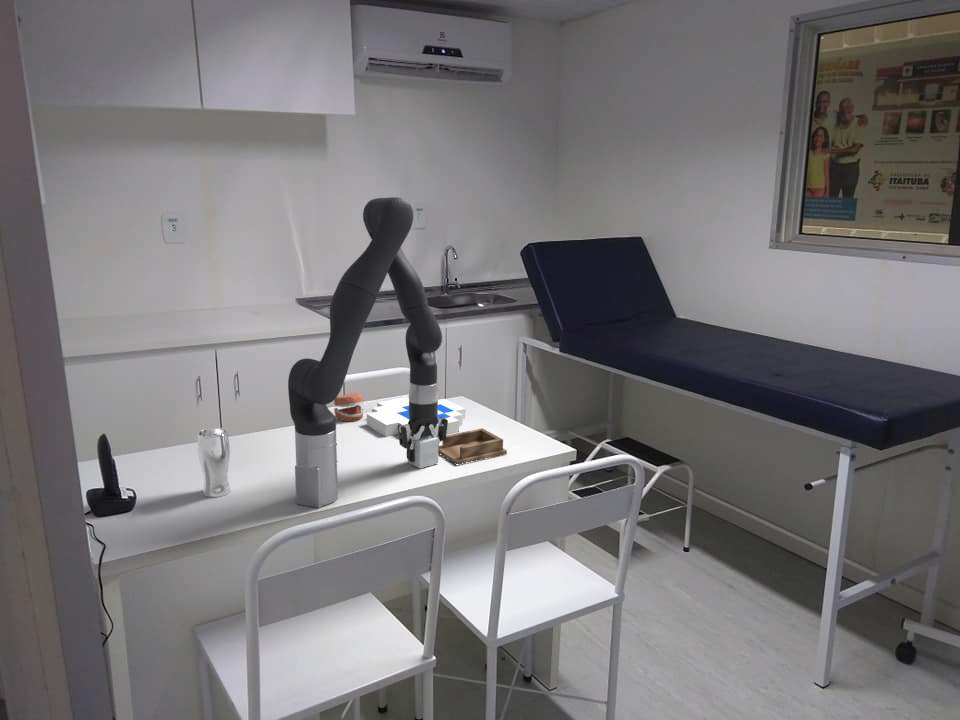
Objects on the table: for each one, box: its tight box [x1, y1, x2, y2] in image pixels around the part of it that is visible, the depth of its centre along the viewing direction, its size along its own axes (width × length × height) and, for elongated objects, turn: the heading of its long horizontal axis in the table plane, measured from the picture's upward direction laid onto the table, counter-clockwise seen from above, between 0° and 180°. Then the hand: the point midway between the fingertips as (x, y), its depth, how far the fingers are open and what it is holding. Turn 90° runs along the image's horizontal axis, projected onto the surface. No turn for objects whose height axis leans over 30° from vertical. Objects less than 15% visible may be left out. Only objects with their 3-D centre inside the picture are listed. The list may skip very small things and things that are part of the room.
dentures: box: [333, 392, 364, 422], centre depth 225 cm, size 9×7×8 cm
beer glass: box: [197, 427, 231, 498], centre depth 171 cm, size 7×7×15 cm
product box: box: [407, 435, 439, 469], centre depth 193 cm, size 6×6×7 cm
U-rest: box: [438, 428, 508, 465], centre depth 201 cm, size 16×12×4 cm
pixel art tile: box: [366, 396, 466, 438], centre depth 224 cm, size 28×4×28 cm
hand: (422, 458), depth 193 cm, fingers closed on product box, 6 cm apart
